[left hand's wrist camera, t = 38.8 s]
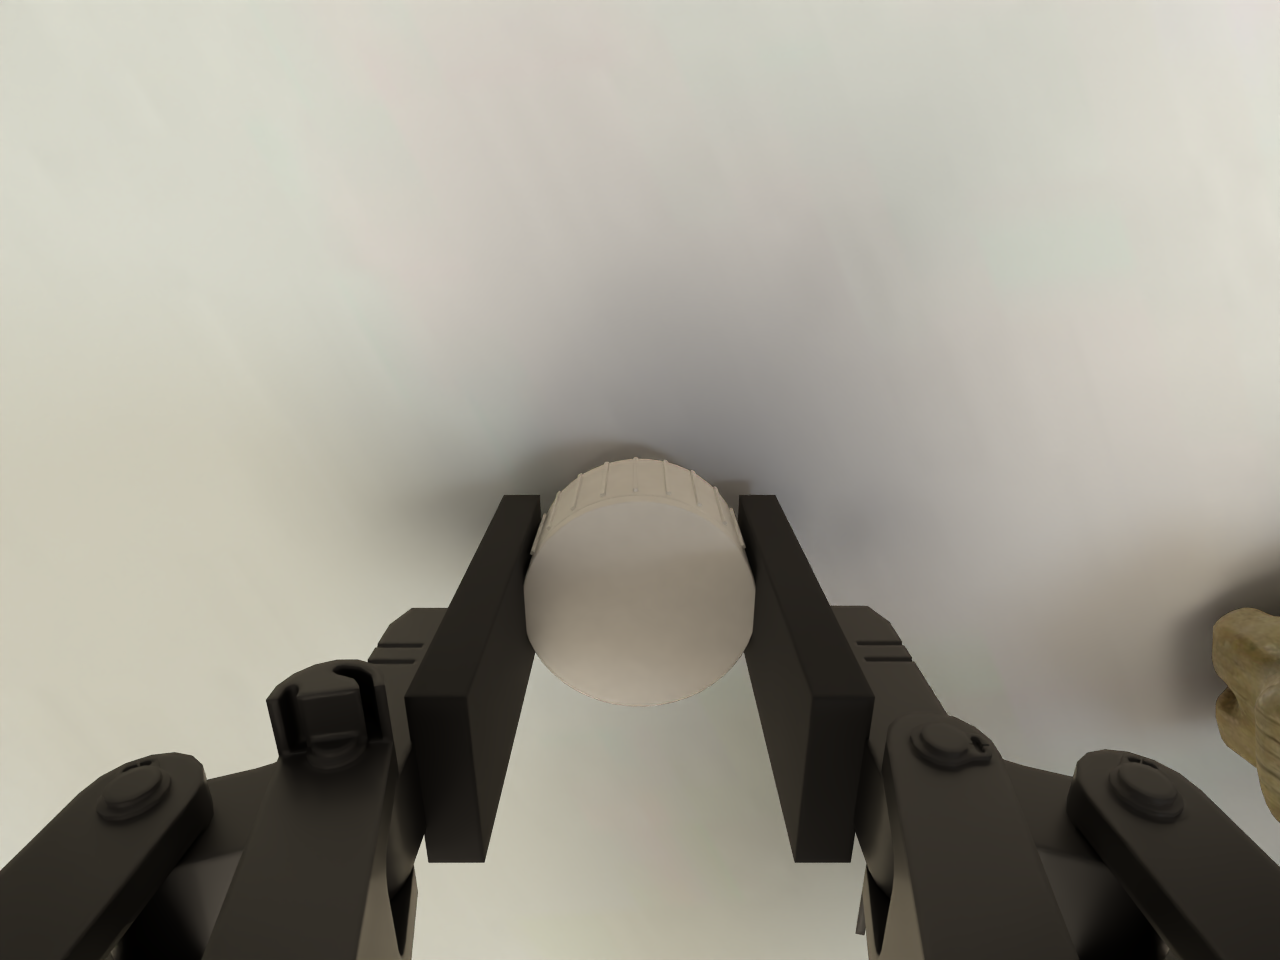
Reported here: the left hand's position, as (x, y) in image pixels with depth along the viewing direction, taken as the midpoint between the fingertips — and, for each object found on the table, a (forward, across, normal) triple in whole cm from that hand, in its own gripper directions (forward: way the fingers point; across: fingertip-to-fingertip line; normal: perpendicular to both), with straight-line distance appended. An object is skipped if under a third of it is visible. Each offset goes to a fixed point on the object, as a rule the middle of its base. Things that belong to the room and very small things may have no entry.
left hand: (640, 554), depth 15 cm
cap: (-2, 0, 0) cm, 2 cm away
